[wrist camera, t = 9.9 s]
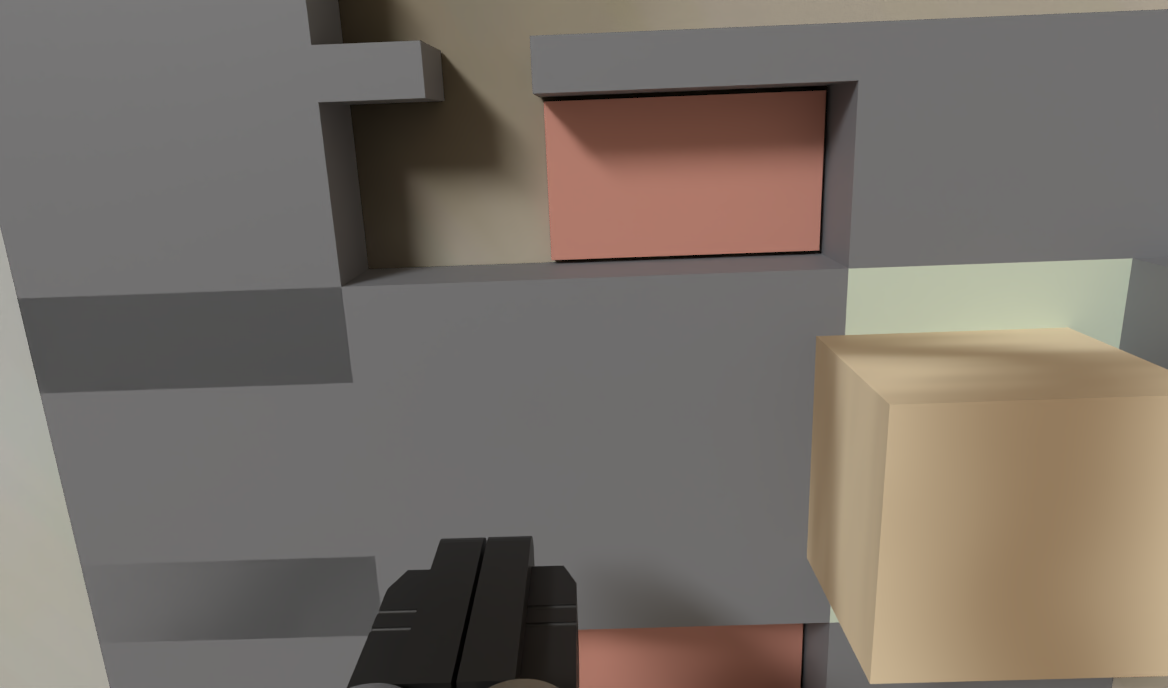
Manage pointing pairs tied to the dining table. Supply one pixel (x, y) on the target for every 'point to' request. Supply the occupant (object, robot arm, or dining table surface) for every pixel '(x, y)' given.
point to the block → (991, 504)
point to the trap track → (532, 312)
